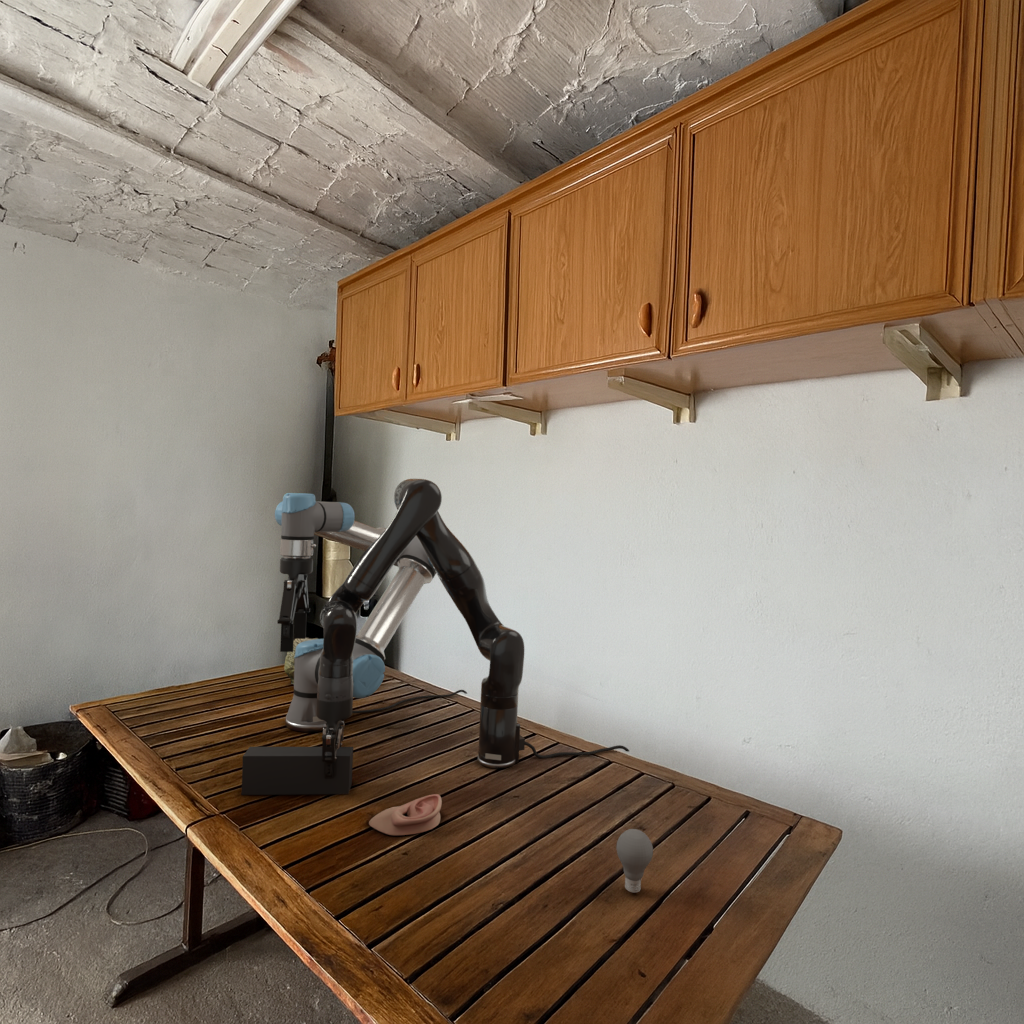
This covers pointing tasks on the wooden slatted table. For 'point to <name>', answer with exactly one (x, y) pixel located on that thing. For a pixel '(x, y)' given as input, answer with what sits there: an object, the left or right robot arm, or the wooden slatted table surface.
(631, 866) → the light bulb
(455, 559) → the right robot arm
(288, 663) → the fossil
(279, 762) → the bar
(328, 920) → the wooden slatted table surface
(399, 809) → the anatomical model
